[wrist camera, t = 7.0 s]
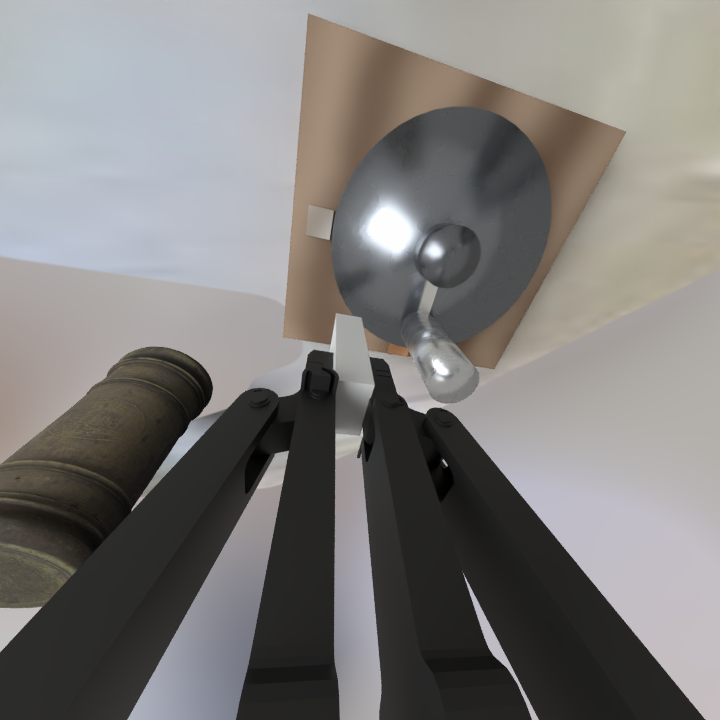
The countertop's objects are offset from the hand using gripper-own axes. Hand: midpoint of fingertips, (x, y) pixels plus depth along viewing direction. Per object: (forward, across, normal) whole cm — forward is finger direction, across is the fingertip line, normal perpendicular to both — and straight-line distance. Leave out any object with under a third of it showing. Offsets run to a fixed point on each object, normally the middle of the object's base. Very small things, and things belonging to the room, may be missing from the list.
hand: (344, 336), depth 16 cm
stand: (+11, +6, +5) cm, 14 cm away
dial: (+8, +6, +5) cm, 11 cm away
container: (+11, -17, -14) cm, 24 cm away
